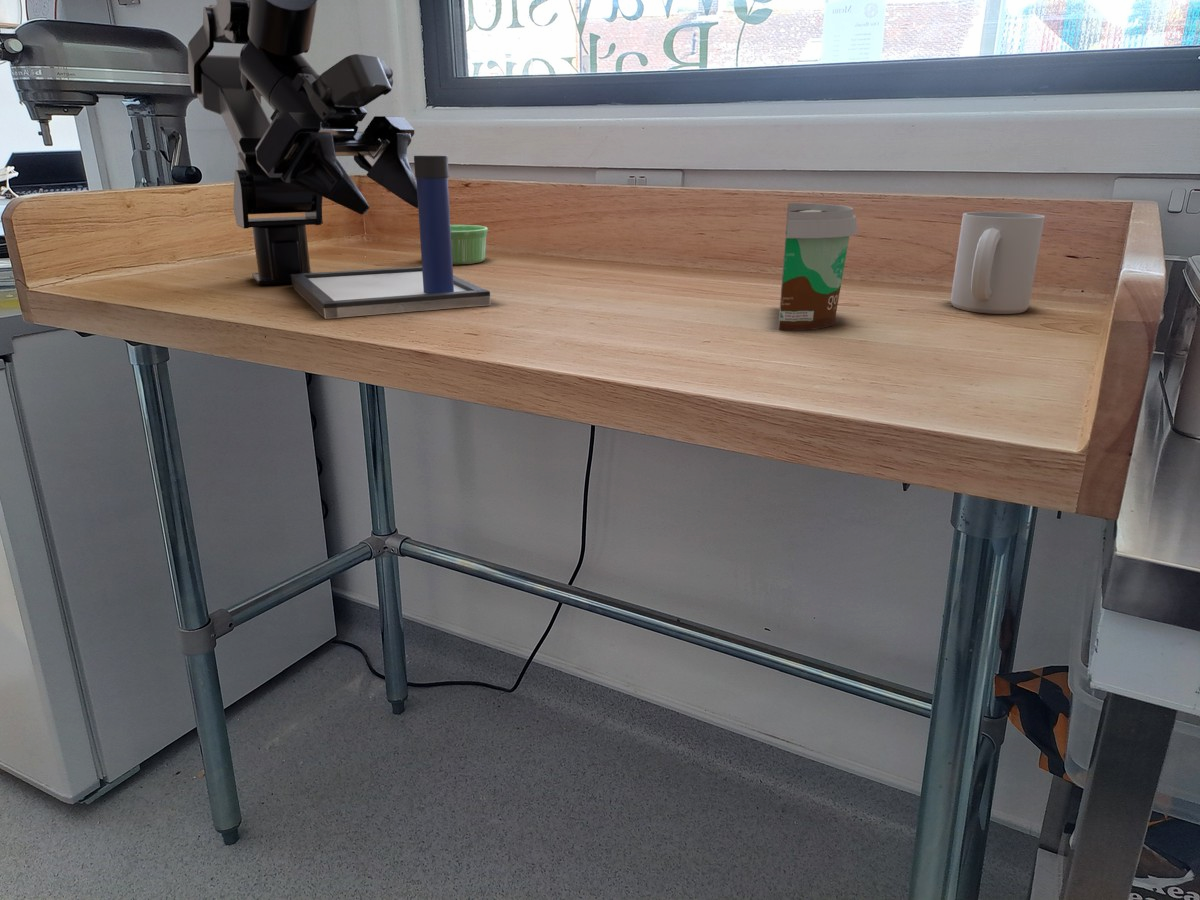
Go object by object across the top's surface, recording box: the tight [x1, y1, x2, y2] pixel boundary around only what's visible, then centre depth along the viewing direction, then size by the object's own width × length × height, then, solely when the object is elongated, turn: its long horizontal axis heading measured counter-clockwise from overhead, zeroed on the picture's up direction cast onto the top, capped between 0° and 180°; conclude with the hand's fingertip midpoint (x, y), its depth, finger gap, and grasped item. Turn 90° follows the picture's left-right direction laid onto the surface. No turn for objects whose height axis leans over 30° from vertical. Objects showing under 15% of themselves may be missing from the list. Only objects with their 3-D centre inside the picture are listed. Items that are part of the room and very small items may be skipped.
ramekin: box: [450, 224, 489, 266], centre depth 115 cm, size 9×9×4 cm
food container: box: [778, 202, 859, 331], centre depth 77 cm, size 12×6×10 cm, turn 168°
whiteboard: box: [291, 265, 492, 320], centre depth 90 cm, size 20×16×1 cm
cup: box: [950, 211, 1046, 315], centre depth 82 cm, size 7×10×9 cm
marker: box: [413, 154, 454, 294], centre depth 84 cm, size 3×3×13 cm
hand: (394, 207), depth 85 cm, fingers open, 9 cm apart
